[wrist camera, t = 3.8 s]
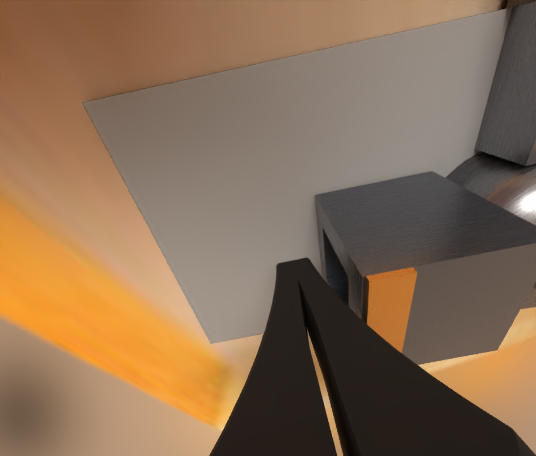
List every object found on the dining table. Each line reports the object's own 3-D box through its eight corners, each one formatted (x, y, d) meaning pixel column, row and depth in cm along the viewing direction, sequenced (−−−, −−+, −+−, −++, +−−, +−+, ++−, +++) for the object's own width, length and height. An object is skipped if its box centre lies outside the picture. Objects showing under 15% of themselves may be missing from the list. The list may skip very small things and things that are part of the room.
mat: (622, -17, 8) (634, -20, 8) (491, 285, 16) (495, 289, 15) (86, 101, 8) (81, 102, 8) (211, 339, 16) (210, 343, 16)
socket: (431, 170, 10) (569, 242, 6) (415, 260, 13) (502, 355, 9) (314, 195, 11) (365, 282, 6) (322, 278, 13) (361, 381, 9)
